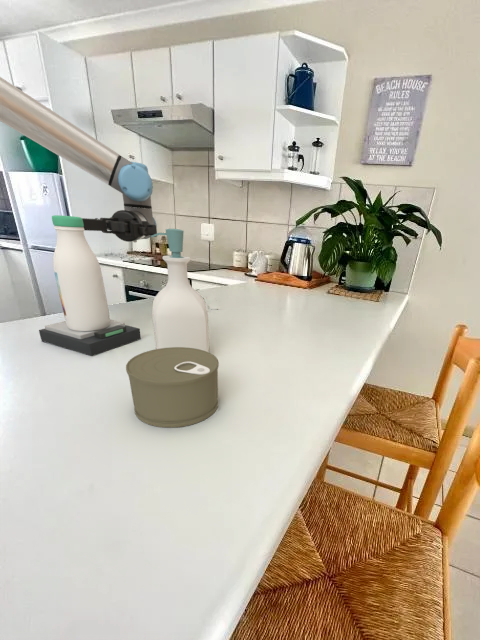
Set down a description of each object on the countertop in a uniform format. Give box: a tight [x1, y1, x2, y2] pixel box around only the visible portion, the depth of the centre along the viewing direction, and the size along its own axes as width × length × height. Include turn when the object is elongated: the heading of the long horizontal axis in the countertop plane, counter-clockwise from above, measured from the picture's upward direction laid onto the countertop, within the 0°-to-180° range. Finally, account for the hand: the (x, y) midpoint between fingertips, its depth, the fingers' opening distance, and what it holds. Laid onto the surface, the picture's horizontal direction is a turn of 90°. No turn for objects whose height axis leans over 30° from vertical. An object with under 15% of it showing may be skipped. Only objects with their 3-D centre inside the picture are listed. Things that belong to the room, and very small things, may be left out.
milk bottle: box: [51, 214, 111, 331], centre depth 61 cm, size 8×8×20 cm
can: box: [125, 347, 220, 429], centre depth 46 cm, size 12×12×7 cm
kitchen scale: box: [38, 319, 142, 357], centre depth 67 cm, size 14×12×3 cm
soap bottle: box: [150, 228, 210, 353], centre depth 59 cm, size 10×10×23 cm
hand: (98, 228), depth 69 cm, fingers open, 13 cm apart
